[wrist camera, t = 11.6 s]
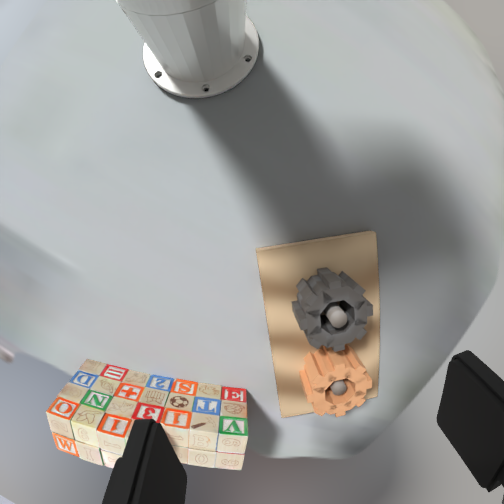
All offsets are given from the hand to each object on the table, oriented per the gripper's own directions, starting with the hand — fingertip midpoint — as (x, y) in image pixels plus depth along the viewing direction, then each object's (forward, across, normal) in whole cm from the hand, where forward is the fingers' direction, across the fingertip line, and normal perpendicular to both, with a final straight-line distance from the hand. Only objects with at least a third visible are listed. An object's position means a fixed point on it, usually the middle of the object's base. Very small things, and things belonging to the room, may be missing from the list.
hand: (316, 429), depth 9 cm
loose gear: (+24, -6, +16) cm, 30 cm away
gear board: (+26, -6, +12) cm, 29 cm away
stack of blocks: (+26, +15, +17) cm, 35 cm away
